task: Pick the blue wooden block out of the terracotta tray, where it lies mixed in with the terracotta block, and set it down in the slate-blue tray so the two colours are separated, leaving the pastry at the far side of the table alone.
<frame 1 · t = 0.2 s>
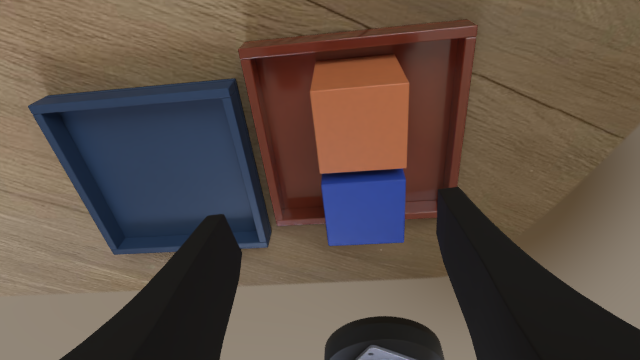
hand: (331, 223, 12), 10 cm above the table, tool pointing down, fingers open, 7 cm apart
terracotta tray: (358, 131, 21), on the table
blue block: (359, 168, 22), resting on terracotta tray
terracotta block: (356, 95, 19), resting on terracotta tray
blue tray: (171, 171, 23), on the table
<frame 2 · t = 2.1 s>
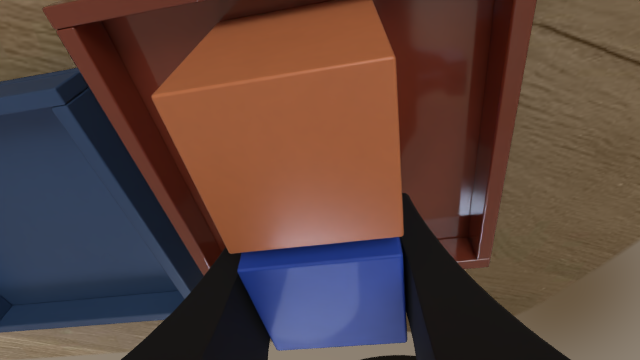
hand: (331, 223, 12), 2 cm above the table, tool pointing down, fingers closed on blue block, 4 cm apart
terracotta tray: (320, 141, 12), on the table
blue block: (330, 199, 13), resting on terracotta tray, touching gripper
terracotta block: (307, 81, 10), resting on terracotta tray
blue tray: (42, 217, 15), on the table
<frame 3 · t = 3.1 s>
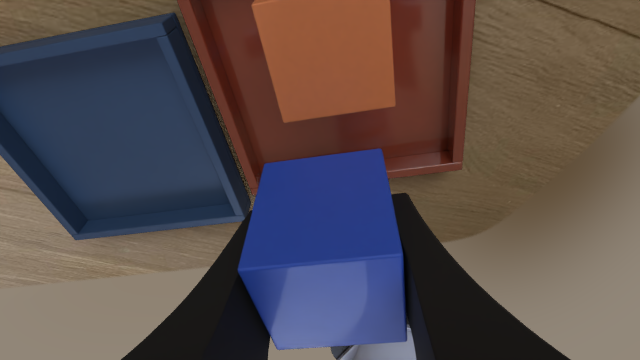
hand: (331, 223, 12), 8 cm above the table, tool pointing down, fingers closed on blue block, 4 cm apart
terracotta tray: (337, 70, 17), on the table
blue block: (330, 199, 13), point 6 cm above the table, touching gripper
terracotta block: (329, 21, 15), resting on terracotta tray
blue tray: (123, 139, 19), on the table
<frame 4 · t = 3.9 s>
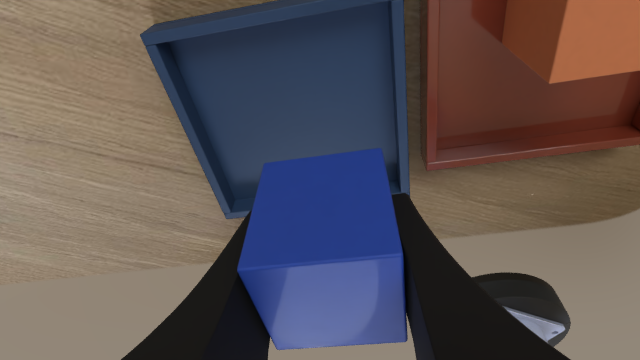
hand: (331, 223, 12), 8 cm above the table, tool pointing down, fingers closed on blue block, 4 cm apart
terracotta tray: (542, 40, 16), on the table
blue block: (330, 199, 13), point 7 cm above the table, touching gripper
blue tray: (297, 113, 19), on the table
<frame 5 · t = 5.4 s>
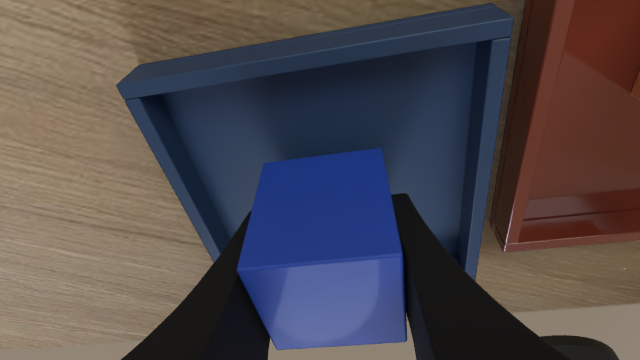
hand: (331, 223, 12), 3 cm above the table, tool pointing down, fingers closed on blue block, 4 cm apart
blue block: (330, 199, 13), point 1 cm above the table, touching gripper
blue tray: (331, 176, 14), on the table
when the fingers open (2 cm above the table, at t = 6.1 s): blue block stays where it is, resting on blue tray.
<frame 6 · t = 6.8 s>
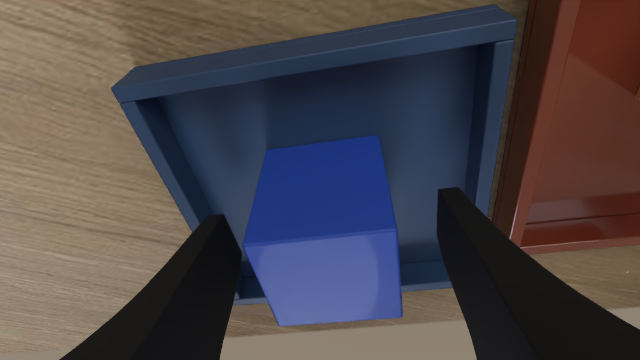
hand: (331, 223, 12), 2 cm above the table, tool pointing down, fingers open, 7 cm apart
blue block: (329, 185, 14), resting on blue tray
blue tray: (331, 180, 14), on the table
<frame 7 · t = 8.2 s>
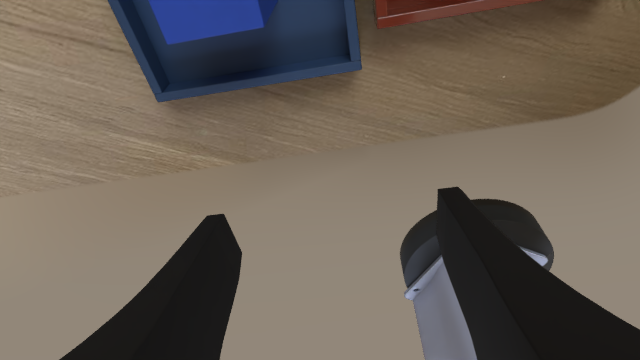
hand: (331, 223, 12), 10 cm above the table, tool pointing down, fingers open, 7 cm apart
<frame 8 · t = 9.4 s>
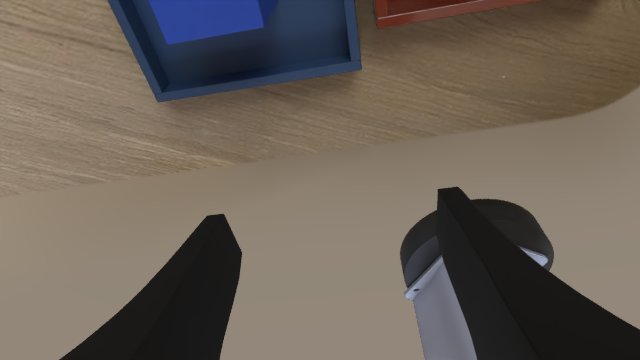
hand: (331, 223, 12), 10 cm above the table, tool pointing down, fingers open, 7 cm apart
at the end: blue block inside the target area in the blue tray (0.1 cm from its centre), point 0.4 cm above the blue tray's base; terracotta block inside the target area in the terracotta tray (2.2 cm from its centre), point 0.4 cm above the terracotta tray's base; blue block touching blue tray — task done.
